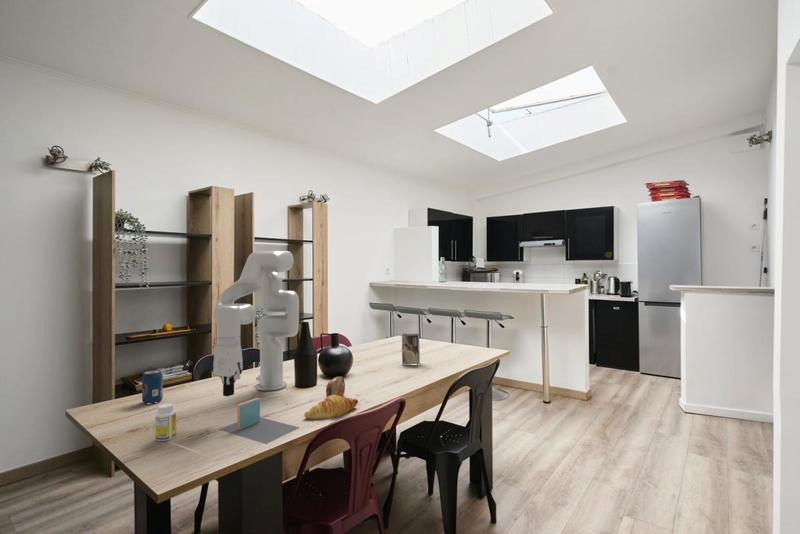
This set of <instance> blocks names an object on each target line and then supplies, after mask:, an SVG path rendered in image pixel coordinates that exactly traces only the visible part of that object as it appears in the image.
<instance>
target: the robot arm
mask: <svg viewBox="0 0 800 534" xmlns="http://www.w3.org/2000/svg"><path fill="white" fill-rule="evenodd" d="M245 261H246V262H245V264H244V267H243V269H242V271H241V274H240V277H239V278H238V280H236V281H235V282H233V283H232V284H230V285H229V286H228V287H226V289H224V290H223V291H222V292H221V293H220V295H219V297H218V299H217V301H216V303H215V305H214V311H213V318H214V321H215V322H216V345H215V349H214V353H213V354H214V355H213V365H212V367H213V369H212V370H213V373H214V375H216V376H217V377H219V379H220V380H221V383H222V395H223V396H224V397H226V398H227V397H230V396H233V395H235V383H236V381H237V380H241V374H242V373H243V366H244V365H243V364H244V363H243V351H242V346H241V325H249V324H252V323H253V322H254V321H255V320H256V316H257V310H256V309H257V308H255V306H254V305H252V304H250V303H234V302H236V301H237V300H238V299H240V298H242V297H246V296H248V295H250V294H253V293H256V292H258V291H259V290H260V289H261V307H262V310H263V311H264V312H268V313H286V314H267V315H264V316H261V317H260V318H259V319H258V320H257V331H258V337H259V366H260V368H259V370H260V371H259V374H258V376H257V377H256V378H255V380H256V381H258V384H257V385H256V389H257V390H258V391H262V392H263V391H264V392H270V391H272V392H273V391H278V390H282V389H284V388H286V387H287V385H288V384H287V381H284V372H283V371H284V369H283V368H284V367H283V366H284V365H283V364H284V363H283V361H284V358H283V355H284V354H283V351H284V348H283V344H282V342H281V340H280V339H279V338H293V337H295V336H297V335H298V332H299V327H300V321H299V320H300V300H299V299H300V298H299V296H298V295H299V294H298V293H297V292H296V291H294V290H284V289H283V278H282V276H281V275H280V273H283V272H284V273H285V272H287V271H290V270H291V269H292V268H293V265H294V255H293V254H292V252H291V251H288V250H261V251H255V252H252V253H250V254H249V255H248V257H247V258H246V260H245Z"/></svg>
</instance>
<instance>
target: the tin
mask: <svg viewBox="0 0 800 534" xmlns="http://www.w3.org/2000/svg"><path fill="white" fill-rule="evenodd" d="M345 388H346V384H345V379H344V376H336V377H334V378H333V379H331V380H330V381H329V382H328V383H327V385H326V389H325V395H326V396H325V397H326V398H327V397H328V396H330V395H340V396H342V397H344V394H345V390H346V389H345Z"/></svg>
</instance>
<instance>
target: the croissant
mask: <svg viewBox="0 0 800 534" xmlns="http://www.w3.org/2000/svg"><path fill="white" fill-rule="evenodd" d="M358 402H359V400H358V399H357V398H350V397H345V396H343V397H342V396H340V395H330V396H328V397H326V398H324V399H323V400H321V401H319V402H318V403H317V404H316V405H314V406H312V407H311V408H310V409H309V410H307V411H305V412H304V418H305V419H308V420H310V419H311V420H317V419H318V420H321V419H331V418H336V417H340V416H342V415H344V414H346V413H347V412H349V411H352V410H353V409H354V408H355V407H356V406H357V405H358V404H359V403H358Z"/></svg>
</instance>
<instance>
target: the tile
mask: <svg viewBox="0 0 800 534" xmlns="http://www.w3.org/2000/svg"><path fill="white" fill-rule="evenodd" d="M236 408H237V410H236V420H237V429H238V430H241V429H244V428H246V427H249V426H251V425H253V424H256V423H258V422H260V417H261V398H260V397H255V398H253V399H250V400H246V401H243V402H240V403H239V404H236Z"/></svg>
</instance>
